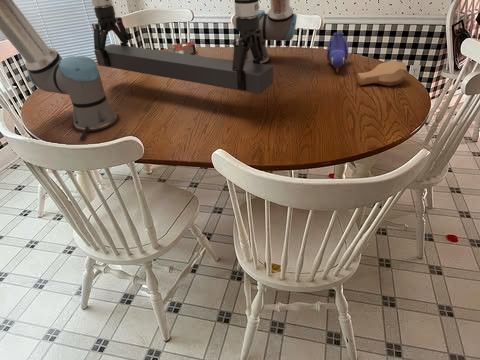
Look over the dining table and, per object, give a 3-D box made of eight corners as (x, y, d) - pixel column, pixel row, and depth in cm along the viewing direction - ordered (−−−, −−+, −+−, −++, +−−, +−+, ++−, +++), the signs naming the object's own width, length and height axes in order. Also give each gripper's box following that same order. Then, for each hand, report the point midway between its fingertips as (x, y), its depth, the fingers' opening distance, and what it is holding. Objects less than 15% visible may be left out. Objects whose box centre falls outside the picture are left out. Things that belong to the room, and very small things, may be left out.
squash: (410, 86, 145) (414, 66, 139) (360, 95, 147) (362, 76, 141) (400, 73, 153) (404, 53, 146) (353, 81, 155) (354, 62, 148)
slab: (98, 65, 154) (94, 50, 150) (115, 58, 161) (112, 43, 157) (259, 94, 119) (259, 75, 116) (273, 83, 126) (273, 65, 123)
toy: (325, 68, 179) (325, 75, 157) (327, 32, 172) (327, 34, 150) (346, 67, 177) (349, 74, 155) (348, 31, 170) (351, 33, 148)
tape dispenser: (183, 66, 184) (206, 53, 197) (182, 56, 181) (205, 43, 193) (158, 60, 192) (181, 48, 204) (156, 51, 188) (180, 38, 201)
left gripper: (86, 12, 132) (103, 71, 145) (130, 1, 147) (142, 55, 160) (73, 11, 135) (90, 69, 148) (117, 0, 150) (130, 53, 163)
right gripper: (238, 25, 103) (242, 97, 116) (273, 9, 118) (273, 74, 131) (217, 23, 106) (223, 93, 119) (254, 8, 122) (255, 71, 135)
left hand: (117, 62), depth 154 cm, fingers closed on slab, 10 cm apart
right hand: (249, 83), depth 125 cm, fingers closed on slab, 10 cm apart
